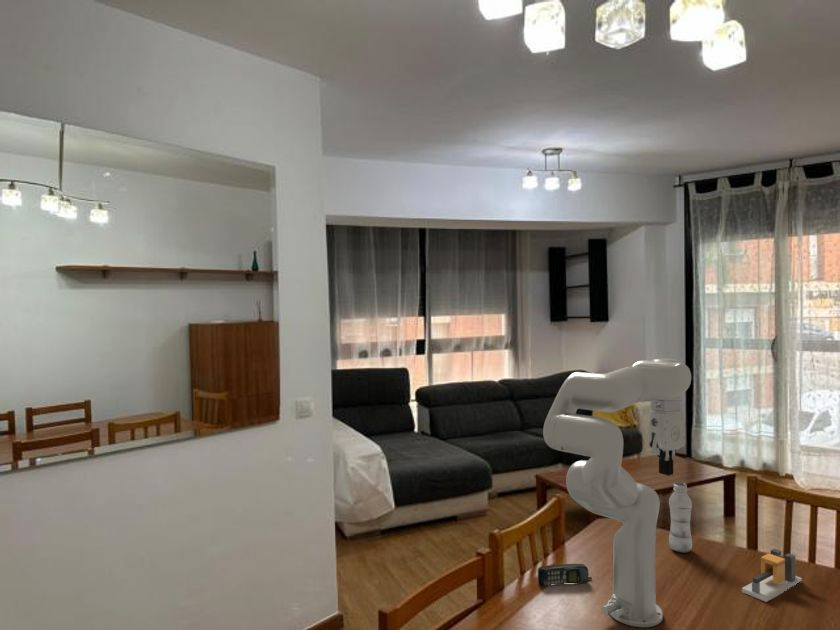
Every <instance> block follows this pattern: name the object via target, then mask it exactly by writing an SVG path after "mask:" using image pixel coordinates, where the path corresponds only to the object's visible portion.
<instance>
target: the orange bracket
mask: <svg viewBox="0 0 840 630" xmlns="http://www.w3.org/2000/svg"><path fill="white" fill-rule="evenodd" d="M771 568H773V583H775V584H778V583H780V582H782V581H784V580H785V557H784V558H783V557H782V556H781V557H778V556H775V555H772V554H771V553H766V554H764V555H763V556H760V574H762V573H763V572H765V571H767V570H769V569H771ZM766 579H767V578H766Z"/></svg>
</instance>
